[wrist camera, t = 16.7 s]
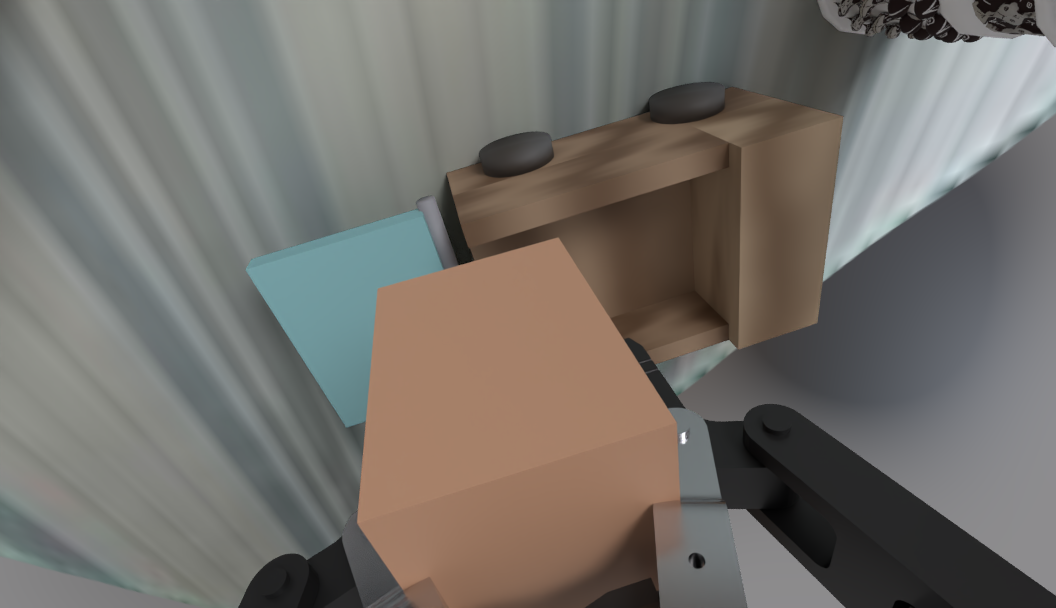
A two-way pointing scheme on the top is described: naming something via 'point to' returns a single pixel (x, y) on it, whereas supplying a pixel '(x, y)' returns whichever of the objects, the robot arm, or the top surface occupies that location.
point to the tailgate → (348, 294)
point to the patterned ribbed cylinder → (943, 18)
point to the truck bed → (673, 213)
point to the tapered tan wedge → (511, 437)
